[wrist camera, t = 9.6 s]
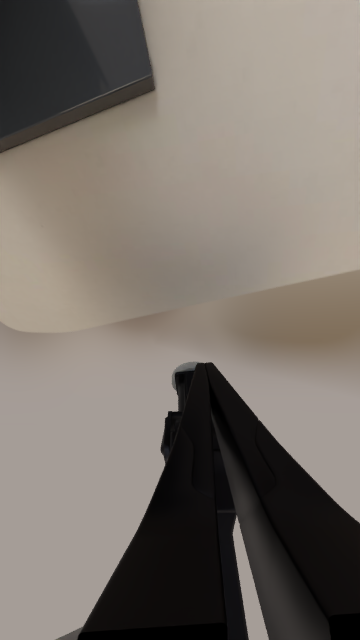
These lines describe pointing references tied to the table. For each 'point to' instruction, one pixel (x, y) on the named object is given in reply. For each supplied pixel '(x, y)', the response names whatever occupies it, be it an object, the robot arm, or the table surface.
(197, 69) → the table surface
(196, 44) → the table surface
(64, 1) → the shower stall
